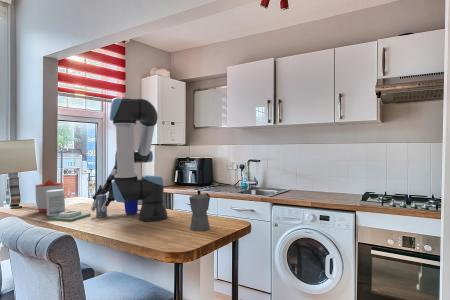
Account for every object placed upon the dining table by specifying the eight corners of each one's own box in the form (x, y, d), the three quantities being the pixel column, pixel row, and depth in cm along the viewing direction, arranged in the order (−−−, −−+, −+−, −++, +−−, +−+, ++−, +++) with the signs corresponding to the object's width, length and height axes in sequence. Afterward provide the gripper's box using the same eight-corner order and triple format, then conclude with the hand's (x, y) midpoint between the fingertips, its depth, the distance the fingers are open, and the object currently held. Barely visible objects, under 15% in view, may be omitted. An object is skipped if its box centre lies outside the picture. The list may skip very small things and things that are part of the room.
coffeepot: (200, 233, 133) (199, 192, 133) (183, 231, 137) (182, 191, 137) (218, 225, 146) (217, 188, 146) (201, 223, 151) (200, 187, 151)
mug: (140, 215, 173) (140, 197, 173) (121, 214, 176) (120, 197, 176) (147, 212, 181) (146, 195, 181) (128, 211, 184) (128, 195, 184)
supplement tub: (68, 213, 182) (68, 189, 182) (54, 217, 173) (53, 191, 173) (57, 212, 186) (56, 188, 186) (42, 216, 177) (42, 191, 177)
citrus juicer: (62, 207, 205) (61, 177, 204) (65, 211, 190) (64, 179, 190) (35, 210, 196) (34, 179, 196) (36, 214, 181) (35, 181, 181)
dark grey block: (107, 215, 175) (106, 194, 175) (101, 217, 171) (101, 195, 171) (101, 215, 176) (100, 194, 176) (96, 216, 172) (95, 195, 172)
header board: (90, 215, 175) (90, 210, 175) (71, 221, 162) (71, 215, 162) (69, 214, 180) (69, 209, 180) (48, 219, 167) (48, 214, 167)
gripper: (130, 182, 186) (114, 214, 170) (104, 182, 191) (86, 213, 175) (125, 174, 181) (108, 207, 165) (98, 174, 186) (79, 206, 170)
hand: (97, 210), depth 170 cm, fingers open, 6 cm apart
